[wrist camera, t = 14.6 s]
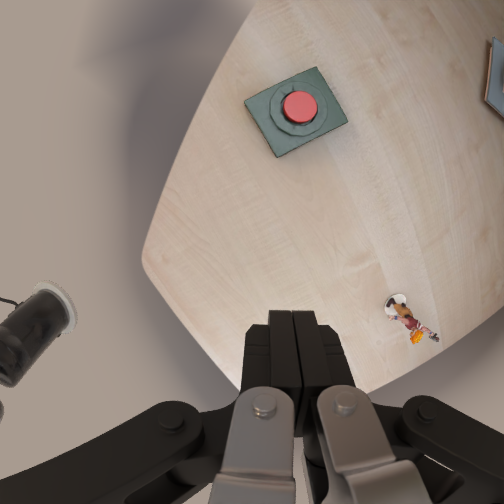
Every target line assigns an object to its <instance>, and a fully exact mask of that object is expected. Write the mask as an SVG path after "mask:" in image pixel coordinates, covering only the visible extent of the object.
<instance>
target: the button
mask: <svg viewBox="0 0 504 504" xmlns="http://www.w3.org/2000/svg"><path fill="white" fill-rule="evenodd" d="M283 111H284V114H285V116H286V117H287V118H288V119H289V120H290V121H292V122H294V123H305V122H307V121H309V120H311V119H312V118H313V117H314V116H315V114H316V112H317V103H316V101H315V99H314V97H313V96H312V95H310V94H309V93H307V92H304V91H295V92H293V93H291V94H289V95H288V96H287V98H286V99H285V101H284V104H283Z"/></svg>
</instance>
